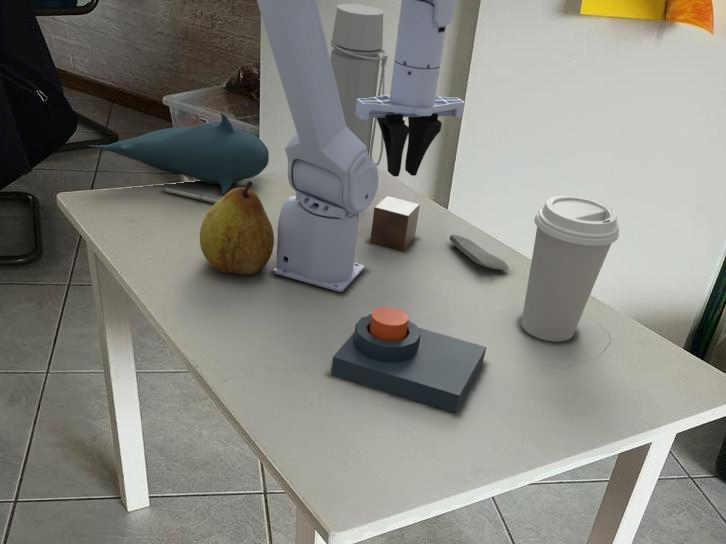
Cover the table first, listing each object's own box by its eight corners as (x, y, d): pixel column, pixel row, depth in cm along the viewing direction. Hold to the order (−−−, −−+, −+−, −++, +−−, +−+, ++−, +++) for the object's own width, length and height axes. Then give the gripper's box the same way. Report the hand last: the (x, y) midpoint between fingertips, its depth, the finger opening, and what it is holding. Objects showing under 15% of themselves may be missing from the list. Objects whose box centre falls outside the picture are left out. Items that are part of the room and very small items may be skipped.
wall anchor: (217, 205, 118) (218, 198, 118) (164, 193, 120) (164, 186, 119) (220, 205, 119) (221, 198, 118) (167, 193, 121) (168, 186, 120)
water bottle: (312, 193, 126) (325, 8, 110) (328, 177, 132) (343, -1, 116) (369, 206, 124) (391, 21, 108) (383, 189, 130) (406, 11, 114)
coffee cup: (528, 350, 96) (561, 227, 87) (496, 310, 103) (525, 192, 93) (599, 346, 99) (640, 226, 89) (564, 307, 106) (599, 192, 96)
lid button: (363, 335, 88) (365, 318, 86) (376, 320, 90) (379, 303, 89) (398, 346, 87) (401, 329, 85) (410, 329, 90) (413, 313, 88)
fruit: (204, 250, 107) (203, 156, 99) (274, 256, 108) (278, 164, 100) (195, 280, 100) (193, 182, 93) (270, 287, 101) (274, 191, 93)
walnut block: (369, 242, 115) (374, 207, 111) (382, 229, 118) (386, 195, 115) (403, 251, 113) (408, 216, 110) (414, 238, 117) (420, 204, 114)
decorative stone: (463, 245, 119) (437, 239, 116) (467, 236, 118) (441, 231, 115) (509, 274, 112) (482, 269, 109) (512, 265, 111) (486, 260, 108)
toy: (278, 117, 119) (249, 117, 132) (92, 103, 109) (80, 104, 122) (276, 197, 124) (249, 189, 136) (97, 190, 114) (85, 182, 126)
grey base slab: (330, 374, 88) (334, 342, 85) (367, 330, 96) (371, 299, 93) (455, 413, 85) (462, 380, 82) (482, 363, 93) (490, 332, 90)
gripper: (377, 71, 96) (364, 187, 104) (483, 72, 101) (463, 182, 110) (353, 55, 100) (343, 167, 109) (456, 56, 106) (438, 162, 115)
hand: (401, 173), depth 110 cm, fingers closed
